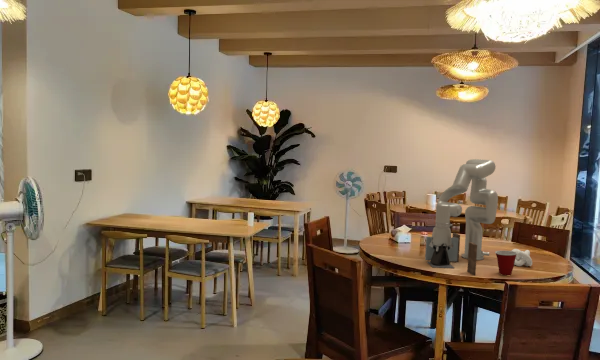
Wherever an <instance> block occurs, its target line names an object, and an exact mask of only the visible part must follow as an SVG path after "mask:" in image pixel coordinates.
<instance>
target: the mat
mask: <svg viewBox="0 0 600 360" xmlns="http://www.w3.org/2000/svg"><path fill="white" fill-rule="evenodd" d="M426 263H427V264H428V265H429V266H430V267H431V268H434V269H435V268H437V269H455V267H454V266H453V265H452V264H450V265H435V264H432V263H430V261H426Z"/></svg>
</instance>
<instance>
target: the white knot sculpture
mask: <svg viewBox="0 0 600 360" xmlns="http://www.w3.org/2000/svg"><path fill="white" fill-rule="evenodd" d="M511 251H514V252H517V255H516V259H515V262H514V266H515V265H516V266H515V267H522V266H523V265H524V266H526V267H528V266H530V267H531V266H533V259H532V258H531V256H530V255H531V252H530V250H529V249H526V250H524V251H523V250H520V249H518V248H513V249H512V250H511Z"/></svg>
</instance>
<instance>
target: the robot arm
mask: <svg viewBox="0 0 600 360" xmlns="http://www.w3.org/2000/svg"><path fill="white" fill-rule="evenodd" d="M496 166H497V165H496V162H494V160H492V159H477V158H475V159H473V158H472V159H469V160H467V161H466V162H465V163H464V164H462V165H460V167H459V169H458V171H457V174H456V176H455V179H454V180H453V184H452V185H450V187H448V188H447V189H445V190H444V191H443V192H442V193H441V194H440V196H439V198H438V201H437V203H436V206H435V222H434V223H435V226H434V227H433V228H432V234H431V237H432V240H431V243H430V244H429V246H431V247H432V248H434V250H435V253H436V254H437V253H439V251H438V248H439V246H441V245H442V244H444V245H443V246H446V245H447V246H448V247H447V251H448V250H449V249H450V248H452V247H453V244H452V242H451V238H452V231H451V227H452V226H453V224H452V223H451V222H450V221H451V217H454V218H455V217H458V216H460V215H462V213H463V207H462V205H460V204H458V203H455V202H449V200H450V199H452V198H453V197H455V196H458V195H462V194H464V193H466V192H467V191H468V190H469V186H470V195H469V201H470V202H471V203H472V204H475V205H471V206H468V207H466V208H465V211H464V215H465V216H464V218H465V235H464V236H465V239H464V253H462V254H461V257H462V258H463V259H466V260H468V250H469V242H473V243H475V244H477V258H476V261H480V260H484V259H485V258H484V256H487V257H488V256H490V252H486V251H483V250H482V245H483V227H482V224H485V225H492V224H493V223H495V220H496V216H497V212H498V211H497V209H498V202H499V197H498V193H497V192H496V191H495V190H494V189H487V183H488V180H487V177H489V176H490V175H493V173H494V172H496ZM470 184H471V185H470ZM476 205H477V206H476ZM478 205H481V206H478ZM482 205H483V206H482ZM433 245H435V246H433ZM443 258H444V259H445V258H446V255H445V252H444V255H443Z"/></svg>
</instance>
